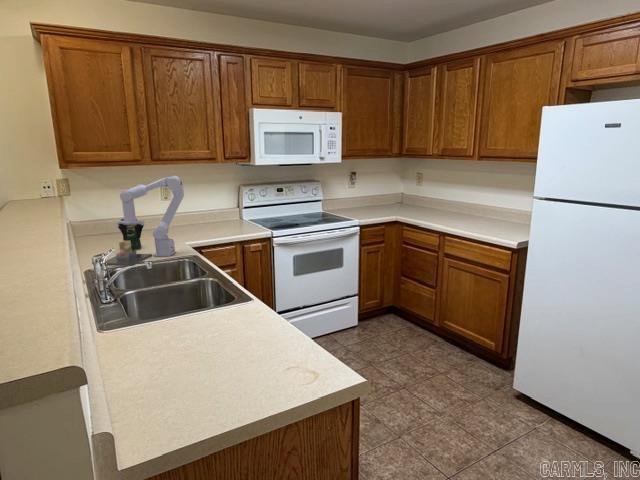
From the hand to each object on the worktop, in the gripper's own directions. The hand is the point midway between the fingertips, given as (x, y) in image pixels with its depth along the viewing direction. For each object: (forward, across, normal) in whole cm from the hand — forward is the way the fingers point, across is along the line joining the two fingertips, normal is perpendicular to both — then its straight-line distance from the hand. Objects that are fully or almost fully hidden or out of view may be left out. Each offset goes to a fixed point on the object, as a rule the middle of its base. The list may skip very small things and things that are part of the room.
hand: (132, 237), depth 221 cm
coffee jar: (+11, -10, +16) cm, 22 cm away
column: (+7, 0, -8) cm, 10 cm away
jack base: (+10, 0, -8) cm, 13 cm away
